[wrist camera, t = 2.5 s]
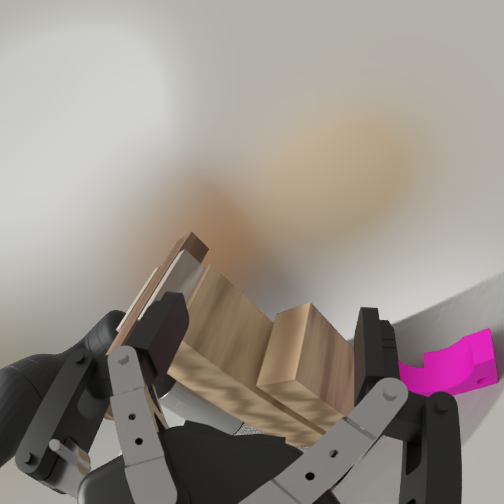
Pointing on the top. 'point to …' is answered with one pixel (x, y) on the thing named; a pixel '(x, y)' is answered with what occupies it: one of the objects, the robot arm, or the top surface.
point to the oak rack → (258, 356)
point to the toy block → (454, 367)
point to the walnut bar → (195, 250)
